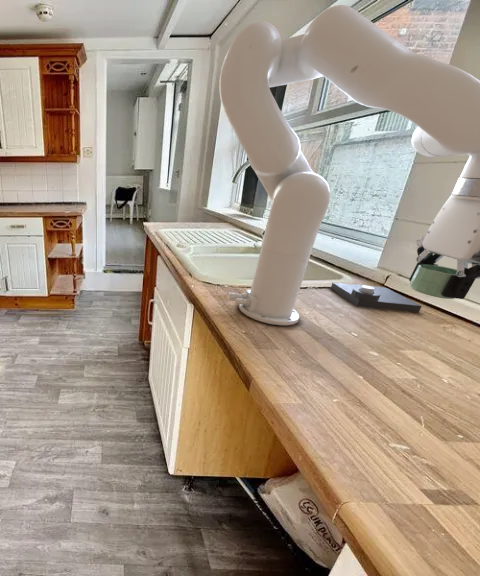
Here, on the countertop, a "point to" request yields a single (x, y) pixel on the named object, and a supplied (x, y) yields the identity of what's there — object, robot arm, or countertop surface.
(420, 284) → the bowl
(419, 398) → the countertop surface
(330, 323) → the countertop surface
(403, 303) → the scale
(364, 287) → the tare button
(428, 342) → the countertop surface
